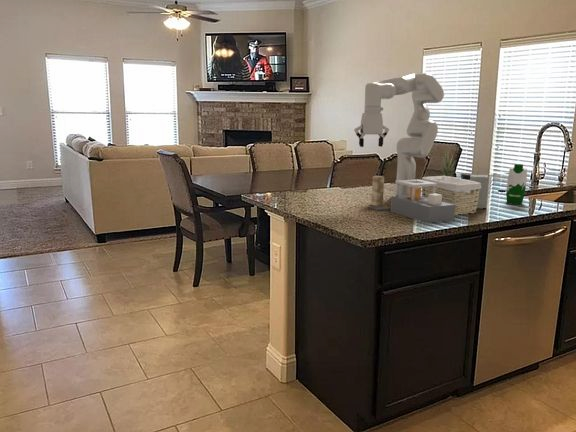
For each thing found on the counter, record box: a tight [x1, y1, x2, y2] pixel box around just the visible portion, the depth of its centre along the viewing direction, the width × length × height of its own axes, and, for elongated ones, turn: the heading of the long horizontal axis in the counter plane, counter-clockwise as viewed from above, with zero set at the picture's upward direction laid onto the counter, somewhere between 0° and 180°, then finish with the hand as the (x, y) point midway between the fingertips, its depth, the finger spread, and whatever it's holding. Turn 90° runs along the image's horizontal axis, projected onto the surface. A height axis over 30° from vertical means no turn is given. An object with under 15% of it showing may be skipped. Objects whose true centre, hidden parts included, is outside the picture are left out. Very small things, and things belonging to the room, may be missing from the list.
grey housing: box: [389, 178, 456, 224], centre depth 224 cm, size 26×14×14 cm, turn 25°
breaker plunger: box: [409, 187, 422, 200], centre depth 228 cm, size 5×5×8 cm
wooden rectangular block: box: [370, 175, 385, 207], centre depth 247 cm, size 4×4×14 cm
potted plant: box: [439, 151, 457, 177], centre depth 298 cm, size 10×10×25 cm
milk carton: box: [505, 163, 528, 205], centre depth 258 cm, size 9×9×20 cm
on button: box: [428, 193, 442, 205], centre depth 217 cm, size 4×4×7 cm
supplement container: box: [460, 172, 480, 180], centre depth 278 cm, size 10×10×12 cm
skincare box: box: [470, 174, 489, 209], centre depth 245 cm, size 8×7×16 cm
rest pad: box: [368, 206, 391, 212], centre depth 238 cm, size 7×7×1 cm
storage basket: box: [420, 175, 481, 216], centre depth 238 cm, size 24×16×15 cm
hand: (371, 146), depth 243 cm, fingers open, 9 cm apart
